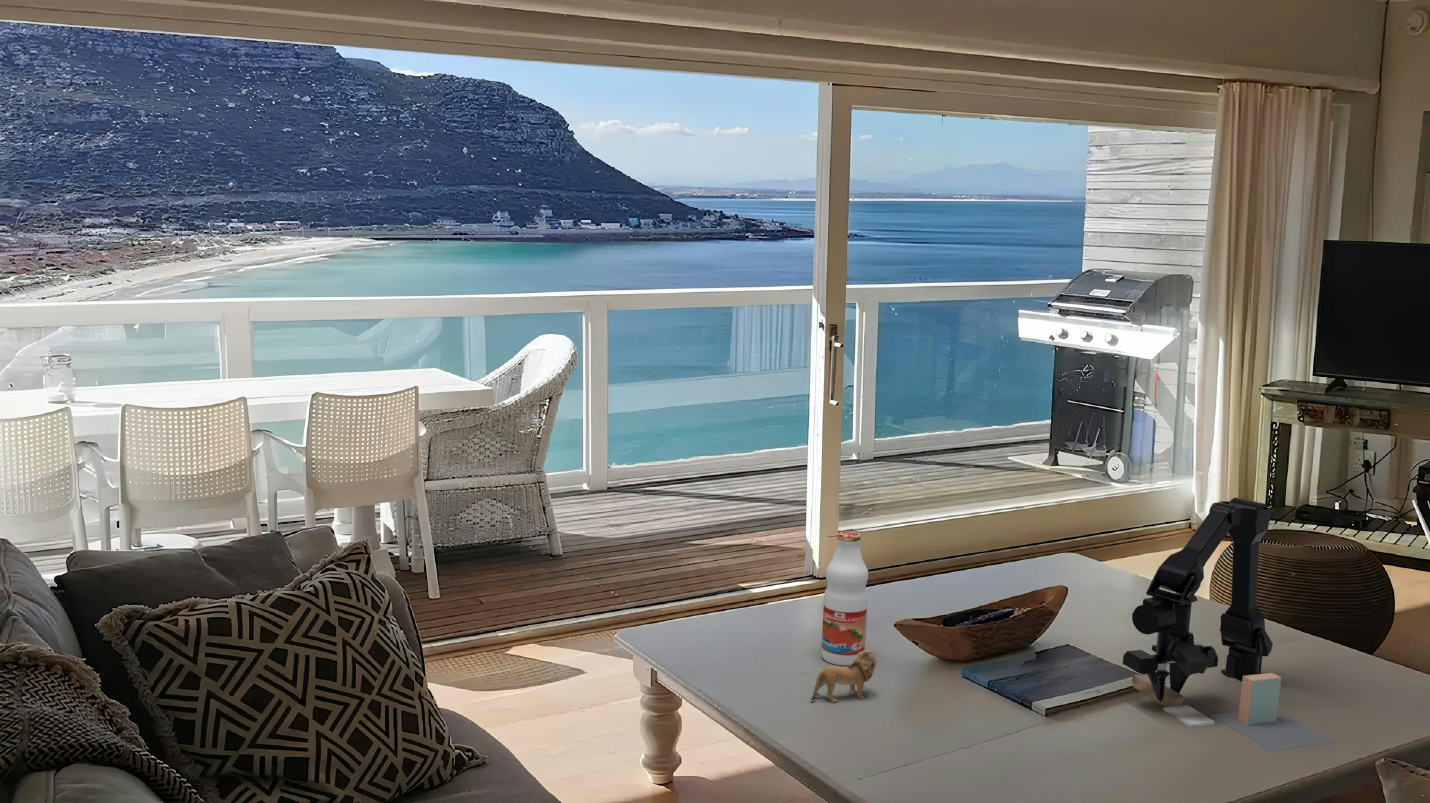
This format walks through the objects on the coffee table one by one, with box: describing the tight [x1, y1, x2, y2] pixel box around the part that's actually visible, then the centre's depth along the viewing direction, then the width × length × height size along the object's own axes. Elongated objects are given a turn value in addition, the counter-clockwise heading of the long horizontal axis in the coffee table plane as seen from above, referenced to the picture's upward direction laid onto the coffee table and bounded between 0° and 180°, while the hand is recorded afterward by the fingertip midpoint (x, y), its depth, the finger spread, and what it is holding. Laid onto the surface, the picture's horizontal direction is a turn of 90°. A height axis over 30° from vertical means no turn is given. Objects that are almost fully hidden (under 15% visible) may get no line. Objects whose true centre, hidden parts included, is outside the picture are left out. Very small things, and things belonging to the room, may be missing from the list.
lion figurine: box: [810, 649, 877, 703], centre depth 230 cm, size 15×5×9 cm, turn 117°
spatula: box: [1131, 673, 1216, 728], centre depth 231 cm, size 20×6×3 cm, turn 16°
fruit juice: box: [820, 530, 869, 666], centre depth 249 cm, size 9×9×28 cm
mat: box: [1209, 711, 1336, 752], centre depth 221 cm, size 15×16×1 cm
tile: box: [1238, 672, 1282, 725], centre depth 224 cm, size 7×2×9 cm, turn 107°
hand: (1166, 699), depth 232 cm, fingers closed on spatula, 3 cm apart
